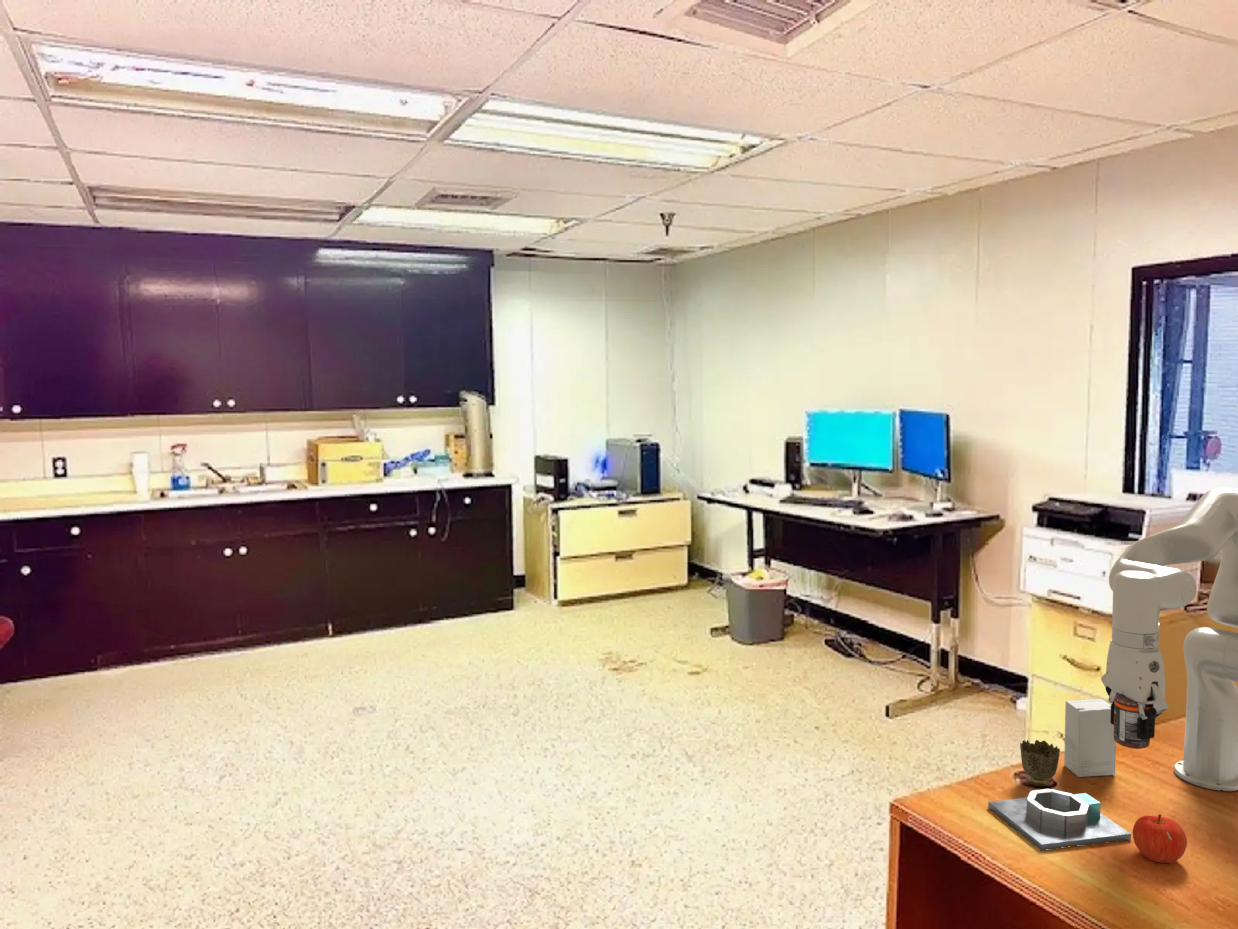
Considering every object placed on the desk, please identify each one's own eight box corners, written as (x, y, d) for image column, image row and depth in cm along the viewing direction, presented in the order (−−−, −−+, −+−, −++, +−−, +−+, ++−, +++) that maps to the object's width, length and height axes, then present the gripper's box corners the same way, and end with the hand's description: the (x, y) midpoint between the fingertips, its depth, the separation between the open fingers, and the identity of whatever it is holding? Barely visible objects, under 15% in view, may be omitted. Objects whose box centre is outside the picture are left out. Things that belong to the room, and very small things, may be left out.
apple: (1194, 872, 148) (1196, 827, 147) (1142, 868, 149) (1144, 823, 148) (1173, 847, 156) (1175, 804, 155) (1124, 844, 157) (1125, 801, 156)
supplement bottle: (1115, 734, 169) (1116, 677, 168) (1151, 741, 166) (1153, 683, 164) (1111, 745, 164) (1112, 687, 163) (1148, 753, 161) (1150, 693, 159)
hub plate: (1070, 798, 174) (1071, 778, 174) (1130, 840, 158) (1131, 818, 158) (988, 807, 171) (988, 787, 170) (1041, 851, 155) (1042, 828, 155)
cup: (1050, 776, 184) (1051, 739, 183) (1064, 792, 176) (1066, 754, 176) (1013, 775, 184) (1014, 738, 184) (1026, 791, 177) (1027, 753, 176)
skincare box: (1099, 764, 189) (1102, 697, 187) (1116, 777, 183) (1119, 708, 181) (1061, 765, 189) (1064, 698, 187) (1077, 778, 183) (1080, 709, 181)
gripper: (1190, 650, 155) (1186, 748, 157) (1118, 623, 172) (1115, 711, 174) (1153, 654, 153) (1149, 752, 155) (1084, 626, 170) (1082, 715, 172)
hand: (1131, 730), depth 165 cm, fingers closed on supplement bottle, 6 cm apart
